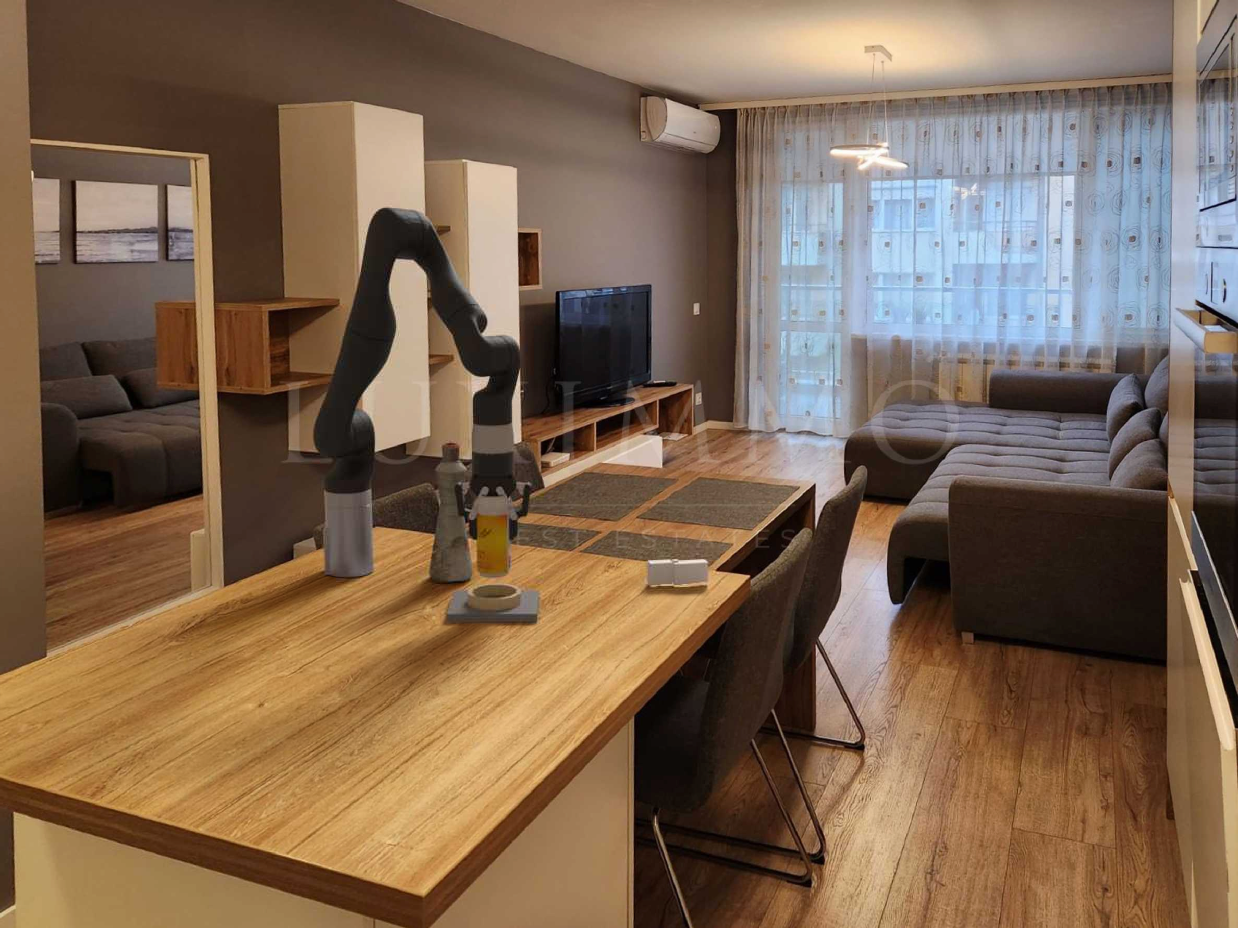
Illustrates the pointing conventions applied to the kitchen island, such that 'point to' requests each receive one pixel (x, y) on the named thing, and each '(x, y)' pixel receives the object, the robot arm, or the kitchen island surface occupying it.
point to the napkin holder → (677, 571)
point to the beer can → (493, 537)
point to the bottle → (450, 523)
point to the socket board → (494, 604)
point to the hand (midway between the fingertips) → (493, 538)
